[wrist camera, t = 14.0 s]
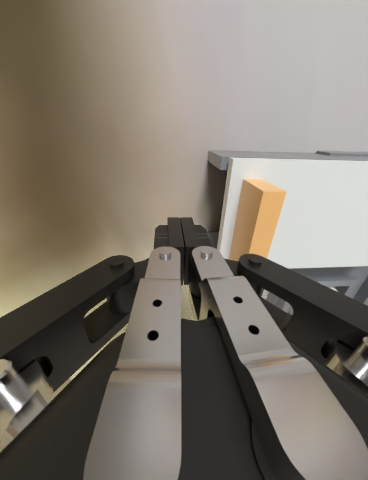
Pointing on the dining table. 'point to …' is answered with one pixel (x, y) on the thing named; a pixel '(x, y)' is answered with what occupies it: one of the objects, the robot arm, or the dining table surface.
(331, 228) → the lid
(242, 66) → the dining table surface
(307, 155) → the housing
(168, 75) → the dining table surface
